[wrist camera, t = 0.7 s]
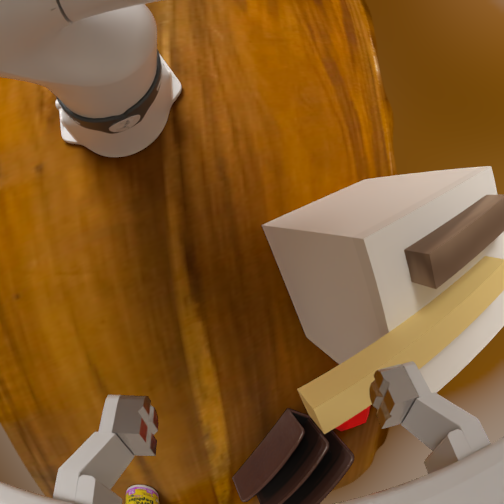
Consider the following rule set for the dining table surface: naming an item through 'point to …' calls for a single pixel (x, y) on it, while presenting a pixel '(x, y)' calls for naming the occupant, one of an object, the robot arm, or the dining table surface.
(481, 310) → the ochre bar
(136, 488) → the supplement bottle
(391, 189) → the off-white stand
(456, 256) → the walnut bar
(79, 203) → the dining table surface
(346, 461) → the letter holder
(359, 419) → the ball
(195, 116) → the dining table surface
